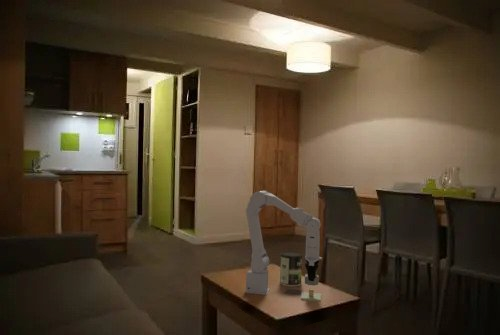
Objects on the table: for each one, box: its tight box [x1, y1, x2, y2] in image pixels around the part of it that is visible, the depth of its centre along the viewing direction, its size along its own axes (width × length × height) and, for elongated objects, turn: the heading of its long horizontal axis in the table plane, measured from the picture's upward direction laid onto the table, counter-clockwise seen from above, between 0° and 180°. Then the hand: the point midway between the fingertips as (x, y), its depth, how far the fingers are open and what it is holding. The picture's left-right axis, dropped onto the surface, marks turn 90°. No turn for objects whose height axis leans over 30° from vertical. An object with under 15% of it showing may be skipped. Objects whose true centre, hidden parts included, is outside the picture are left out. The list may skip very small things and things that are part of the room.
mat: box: [283, 288, 303, 296], centre depth 167 cm, size 7×7×1 cm
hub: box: [300, 288, 322, 303], centre depth 161 cm, size 8×8×4 cm
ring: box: [304, 273, 320, 286], centre depth 161 cm, size 6×6×3 cm
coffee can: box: [279, 251, 303, 287], centre depth 180 cm, size 10×10×14 cm
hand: (311, 278), depth 161 cm, fingers closed on ring, 6 cm apart
